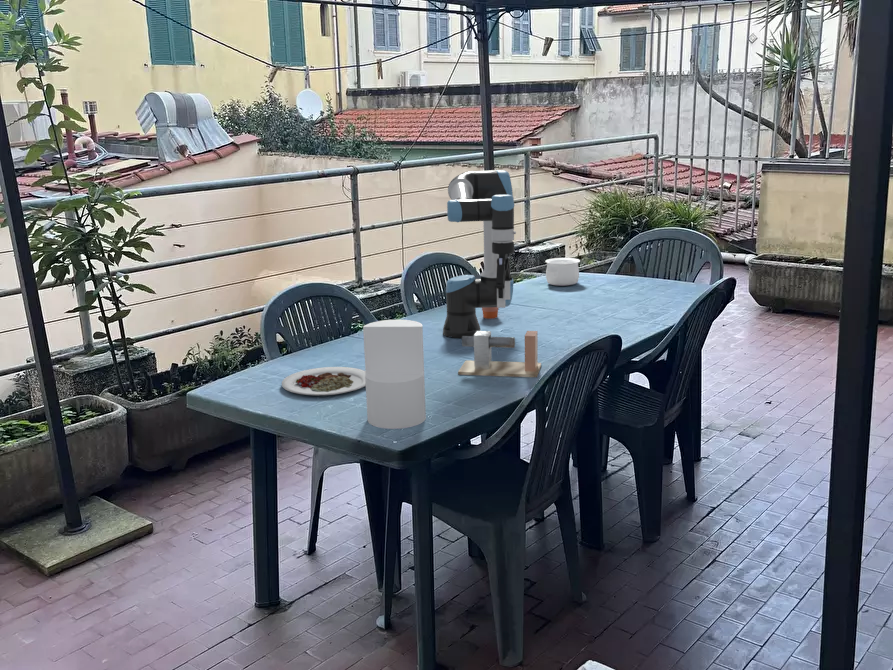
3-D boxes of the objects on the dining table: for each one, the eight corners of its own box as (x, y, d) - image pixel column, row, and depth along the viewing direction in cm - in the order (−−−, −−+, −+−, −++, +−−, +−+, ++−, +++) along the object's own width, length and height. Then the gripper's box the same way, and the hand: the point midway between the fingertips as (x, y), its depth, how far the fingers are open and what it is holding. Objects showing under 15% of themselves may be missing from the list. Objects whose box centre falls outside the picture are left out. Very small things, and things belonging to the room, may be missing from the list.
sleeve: (474, 368, 300) (473, 335, 297) (477, 363, 305) (476, 330, 302) (488, 369, 299) (488, 335, 296) (491, 364, 304) (491, 331, 301)
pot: (565, 290, 428) (565, 265, 425) (536, 286, 439) (536, 262, 436) (588, 282, 445) (588, 259, 442) (559, 279, 455) (559, 256, 452)
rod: (461, 347, 300) (461, 337, 299) (463, 344, 303) (463, 334, 303) (513, 349, 296) (513, 338, 295) (515, 346, 300) (514, 336, 299)
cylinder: (373, 408, 266) (368, 319, 259) (429, 408, 264) (425, 319, 257) (362, 428, 249) (357, 334, 242) (422, 429, 248) (418, 334, 241)
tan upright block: (524, 371, 296) (524, 335, 293) (527, 365, 302) (527, 330, 299) (535, 371, 295) (535, 336, 292) (537, 365, 301) (537, 331, 298)
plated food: (380, 393, 281) (380, 383, 280) (287, 404, 273) (286, 394, 272) (362, 368, 309) (362, 359, 308) (277, 377, 301) (276, 368, 300)
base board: (458, 374, 297) (458, 371, 297) (465, 362, 311) (465, 360, 310) (536, 377, 292) (536, 374, 291) (541, 365, 305) (541, 362, 305)
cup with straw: (490, 320, 371) (489, 279, 366) (475, 317, 378) (474, 276, 373) (505, 317, 377) (504, 276, 372) (490, 313, 383) (490, 273, 379)
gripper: (509, 246, 279) (510, 311, 284) (518, 236, 303) (518, 296, 308) (486, 246, 280) (487, 310, 285) (497, 236, 304) (497, 296, 309)
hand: (503, 303), depth 297 cm, fingers open, 13 cm apart
